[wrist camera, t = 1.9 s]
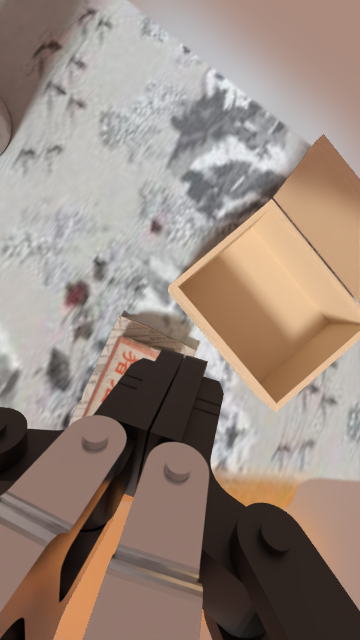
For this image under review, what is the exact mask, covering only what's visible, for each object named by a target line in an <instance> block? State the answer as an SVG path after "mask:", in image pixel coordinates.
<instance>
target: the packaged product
mask: <svg viewBox="0 0 360 640" xmlns="http://www.w3.org/2000/svg"><path fill="white" fill-rule="evenodd" d="M163 348H165V349H169V350H172V351H175V352H178V353H182V354H185V356H186V355H188V356H192V357H193V356H194V354H195V352H196V350H195V349H193V348H191V347H189V346H187V345H186V344H184V343H181V342H179V341H176V340H174V339H171V338H168V337H167V336H165V335H163V334H161V333H159V332H157V331H155V330H153V329H151V328H149V327H147V326H145V325H143V324H141V323H138V322H136V321H133V320H130V319H127V318H125V317H122V316H119V318H118V320H117V322H116V324H115V326H114V328H113V330H112V332H111V334H110V336H109V339H108V341H107V343H106V345H105V347H104V350H103V352H102V354H101V356H100V358H99V360H98V362H97V365H96V367H95V369H94V371H93V373H92V376H91V378H90V380H89V382H88V384H87V386H86V388H85V391H84V393H83V397H82V399H81V400H80V402H79V404H78V406H77V409H76V410H75V412H74V414H73V417H72V419H71V421H70V424H69V426H70V425H71V424H72V423H73V422H75V421H76V420H78V419H80V418H83V417H86V416H91V415H93V414H94V413H95V412H96V410H97V409H98V408H99V406H100V405H101V404H102V402H103V401H104V400H105V398H106V397H107V396H108V394H109V393H110V392H111V390H112V389H113V388H114V386H115V385H116V384H117V383H118V381H119V380H120V378H121V377H122V376H123V375H124V373H125V372H126V370H127V369H128V368H129V366H130V365H131V364H132V363H134V362H136V361H138V360H140V359H142V358H146V359H149V360H152V361H155V360H156V358H157V357H158V355H159V354H160V352H161V350H162V349H163Z"/></svg>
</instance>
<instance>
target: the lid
mask: <svg viewBox="0 0 360 640" xmlns="http://www.w3.org/2000/svg"><path fill="white" fill-rule="evenodd" d="M273 198H274V199H275V200H276V201H277V203H278V204H279V205H280V206H281V207H282V209H283V210H284V211H285V212H286V214H287V215H288V216H289V217H290V218H291V220H292V221H293V222H294V223H295V225H296V226H297V227H298V228H299V229H300V231H301V232H302V233H303V234H304V236H305V237H306V238H307V239H308V240H309V242H310V243H311V244H312V245H313V247H314V248H315V249H316V250H317V252H318V253H319V254H320V255H321V256H322V258H323V259H324V260H325V261H326V263H327V264H328V265H329V266H330V267H331V269H332V270H333V271H334V272H335V274H336V275H337V276H338V277H339V278H340V280H341V281H342V282H343V283H344V285H345V286H346V287H347V288H348V290H349V291H350V292H351V293H352V294H353V296H354V297H355V298H356V299H357V301H358V302H359V303H360V179H359V178H358V177H357V175H356V174H355V173H354V172H353V170H352V169H351V168H350V167H349V165H348V164H347V163H346V162H345V160H344V159H343V158H342V157H341V155H340V154H339V153H338V152H337V150H336V149H335V148H334V147H333V145H332V144H331V143H330V142H329V140H328V139H327V138H326V137H325V135H324V134H323V135H322V136H321V137H320V138H319V139H318V140H317V141H316V142H315V143H314V144H313V146H312V147H311V148H310V150H309V151H308V152H307V154H306V155H305V156H304V158H303V159H302V160H301V162H300V163H299V164H298V165H297V167H296V168H295V169H294V171H293V172H292V173H291V175H290V176H289V177H288V179H287V180H286V181H285V183H284V184H283V185H282V187H281V188H280V189H279V191H278V192H277V193H276V194H275V196H274V197H273Z"/></svg>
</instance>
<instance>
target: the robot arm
mask: <svg viewBox="0 0 360 640" xmlns="http://www.w3.org/2000/svg"><path fill="white" fill-rule="evenodd" d="M11 130H12V125H11V118H10V115H9V112H8V110H7V108H6V106H5V104H4V103H3V102H2V100H1V99H0V154H1V153H2V152H3V151H4V150H5V148H6V146H7V145H8V142H9V140H10V137H11ZM207 363H208V361H204V360H201V359H198V358H195V357H192V356H188V355H186V356H185V354H182V353H178V352H175V351H172V350H169V349H165V348H163V349H162V350H161V352H160V354H159V355H158V357H157V358H156V360H155V361H152V360H149V359H146V358H142V359H140V360H138V361H136V362H134V363H132V364H131V365H130V366H129V368H128V369H127V370H126V372H125V373H124V375H123V376H122V377H121V378H120V380H119V381H118V383H117V384H116V385H115V386H114V388H113V389H112V390H111V392H110V393H109V394H108V396H107V397H106V398H105V400H104V401H103V402H102V404H101V405H100V406H99V408H98V409H97V410H96V412H95V413H94V414H93V415H91V416H86V417H83V418H80V419H78V420H76V421H75V422H73V423H72V424H71V425H70V426H68V428H67V429H66V430H59V431H58V430H39V429H27V420H26V418H25V417H24V415H23V414H22V413H20V412H19V411H17V410H14V409H11V408H5V407H0V640H53V639H54V636H55V634H56V631H57V628H58V625H59V622H60V620H61V617H62V615H63V613H64V611H65V608H66V606H67V604H68V603H69V601H70V598H71V597H72V595H73V593H74V592H75V590H76V588H77V586H78V584H79V582H80V581H81V579H82V577H83V575H84V573H85V571H86V569H87V568H88V566H89V564H90V562H91V560H92V558H93V557H94V555H95V553H96V551H97V549H98V547H99V546H100V544H101V542H102V540H103V538H104V536H105V535H106V533H107V531H108V529H109V527H110V525H111V523H112V521H113V517H114V514H115V512H116V510H117V508H118V506H119V504H120V502H121V499H122V497H123V495H124V494H127V495H130V496H132V497H134V499H133V502H132V505H131V508H130V511H129V514H128V517H127V520H126V524H125V526H124V529H123V532H122V535H121V538H120V541H119V544H118V547H117V549H116V552H115V554H113V556H112V558H111V560H110V562H109V565H108V567H107V570H106V574H105V576H104V579H103V582H102V585H101V587H100V590H99V593H98V596H97V599H96V602H95V605H94V608H93V611H92V614H91V617H90V619H89V622H88V625H87V628H86V631H85V634H84V637H83V640H199V638H200V627H201V616H202V609H203V610H204V616H205V620H206V624H207V626H208V629H209V632H210V634H211V637H212V639H213V640H360V611H359V609H358V608H357V607H356V605H355V604H354V602H353V601H352V600H351V598H350V597H349V595H348V594H347V592H346V591H345V589H344V588H343V587H342V585H341V584H340V582H339V581H338V579H337V578H336V577H335V575H334V574H333V572H332V571H331V570H330V568H329V567H328V565H327V564H326V562H325V561H324V559H323V558H322V557H321V555H320V554H319V552H318V551H317V549H316V548H315V547H314V545H313V544H312V542H311V541H310V539H309V538H308V537H307V535H306V534H305V532H304V531H303V530H302V528H301V527H300V526H299V524H298V523H297V522H296V521H295V520H294V519H293V517H292V516H290V515H289V514H288V513H287V512H285V511H284V510H282V509H281V508H279V507H277V506H274V505H271V504H268V503H254V504H251V505H249V506H247V507H246V506H244V505H243V504H242V503H240V502H239V501H237V500H236V499H235V498H233V497H232V496H231V495H229V494H228V493H227V492H226V491H225V490H224V489H223V488H222V487H221V486H220V485H219V483H218V482H217V481H216V479H215V477H214V475H213V472H212V469H211V463H210V460H211V454H212V449H213V444H214V439H215V434H216V429H217V424H218V419H219V415H220V410H221V405H222V400H223V395H224V393H223V390H222V387H221V385H220V382H219V381H216V380H213V379H210V378H206V377H204V374H205V370H206V367H207ZM134 495H135V496H134Z"/></svg>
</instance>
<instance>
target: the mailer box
mask: <svg viewBox="0 0 360 640" xmlns="http://www.w3.org/2000/svg"><path fill="white" fill-rule="evenodd" d="M168 293H169V294H170V295H171V296H172V297H173V299H174V300H175V301H176V302H177V303H178V304H179V306H180V307H181V308H182V309H183V310H184V312H185V313H186V314H187V315H188V316H189V317H190V319H191V320H192V321H193V322H194V323H195V325H196V326H197V327H198V328H199V329H200V330H201V332H202V333H203V334H204V335H205V336H206V338H207V339H208V340H209V341H210V342H211V343H212V345H213V346H214V347H215V348H216V349H217V351H218V352H219V353H220V354H221V355H222V356H223V358H224V359H225V360H226V361H227V362H228V364H229V365H230V366H231V367H232V368H233V369H234V371H235V372H236V373H237V374H238V375H239V377H240V378H241V379H242V380H243V381H244V382H245V384H246V385H247V386H248V387H249V388H250V390H251V391H252V392H253V393H254V394H255V395H256V396H257V397H259V398H260V399H261V400H262V401H263V402H264V403H266V404H267V405H268V406H269V407H270V408H271V409H273V410H274V411H275V412H276V411H278V410H279V409H280V408H281V407H282V406H283V405H284V404H286V403H287V402H288V401H289V400H290V399H291V398H293V397H294V396H295V395H296V394H297V393H298V392H299V391H301V390H302V389H303V388H304V387H305V386H306V385H307V384H309V383H310V382H311V381H312V380H313V379H314V378H315V377H317V376H318V375H319V374H320V373H321V372H322V371H323V370H325V369H326V368H327V367H328V366H329V365H330V364H331V363H333V362H334V361H335V360H336V359H337V358H338V357H340V356H341V355H342V354H343V353H344V352H345V351H346V350H348V349H349V348H350V347H351V346H352V345H353V344H354V343H356V342H357V341H358V340H359V339H360V306H359V305H358V304H357V303H356V301H355V300H354V299H353V298H352V296H351V295H350V294H349V293H348V292H347V290H346V289H345V288H344V287H343V285H342V284H341V283H340V282H339V281H338V279H337V278H336V277H335V276H334V274H333V273H332V272H331V271H330V270H329V268H328V267H327V266H326V265H325V263H324V262H323V261H322V260H321V258H320V257H319V256H318V255H317V254H316V252H315V251H314V250H313V249H312V247H311V246H310V245H309V244H308V243H307V241H306V240H305V239H304V238H303V236H302V235H301V234H300V233H299V232H298V230H297V229H296V228H295V227H294V225H293V224H292V223H291V222H290V221H289V219H288V218H287V217H286V216H285V214H284V213H283V212H282V211H281V210H280V208H279V207H278V206H277V205H276V203H275V202H274V201H273V200H272V199H271V200H270V201H269V202H268V203H266V204H265V205H264V206H263V207H262V208H261V209H259V210H258V211H257V212H256V213H255V214H253V215H252V216H251V217H250V218H249V219H248V220H246V221H245V222H244V223H243V224H242V225H240V226H239V227H238V228H237V229H236V230H235V231H233V232H232V233H231V234H230V235H229V236H227V237H226V238H225V239H224V240H223V241H221V242H220V243H219V244H218V245H217V246H216V247H214V248H213V249H212V250H211V251H210V252H208V253H207V254H206V255H205V256H204V257H203V258H201V259H200V260H199V261H198V262H197V263H195V264H194V265H193V266H192V267H191V268H189V269H188V270H187V271H186V272H185V273H184V274H182V275H181V276H180V277H179V278H178V279H176V280H175V281H174V282H173V283H172V284H171V285H169V289H168Z"/></svg>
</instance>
